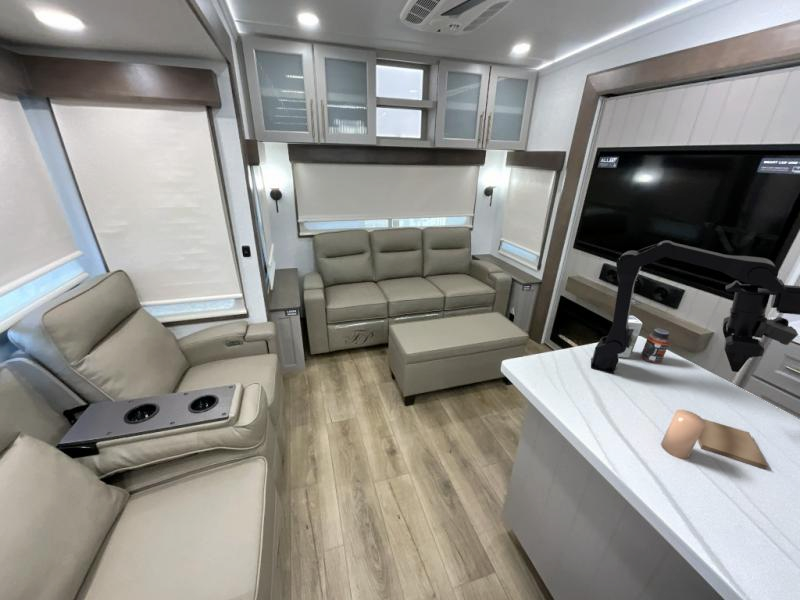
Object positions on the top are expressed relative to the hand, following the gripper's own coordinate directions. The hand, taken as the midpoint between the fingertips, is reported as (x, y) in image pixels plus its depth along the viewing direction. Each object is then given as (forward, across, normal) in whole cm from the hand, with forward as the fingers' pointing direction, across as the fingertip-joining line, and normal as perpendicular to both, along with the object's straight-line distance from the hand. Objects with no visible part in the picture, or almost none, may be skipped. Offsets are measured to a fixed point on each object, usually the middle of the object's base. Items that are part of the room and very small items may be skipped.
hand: (733, 363), depth 82 cm
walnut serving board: (+14, -15, 0) cm, 21 cm away
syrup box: (+11, +13, +27) cm, 32 cm away
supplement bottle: (+12, +17, +18) cm, 27 cm away
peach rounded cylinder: (+13, -26, +9) cm, 31 cm away
